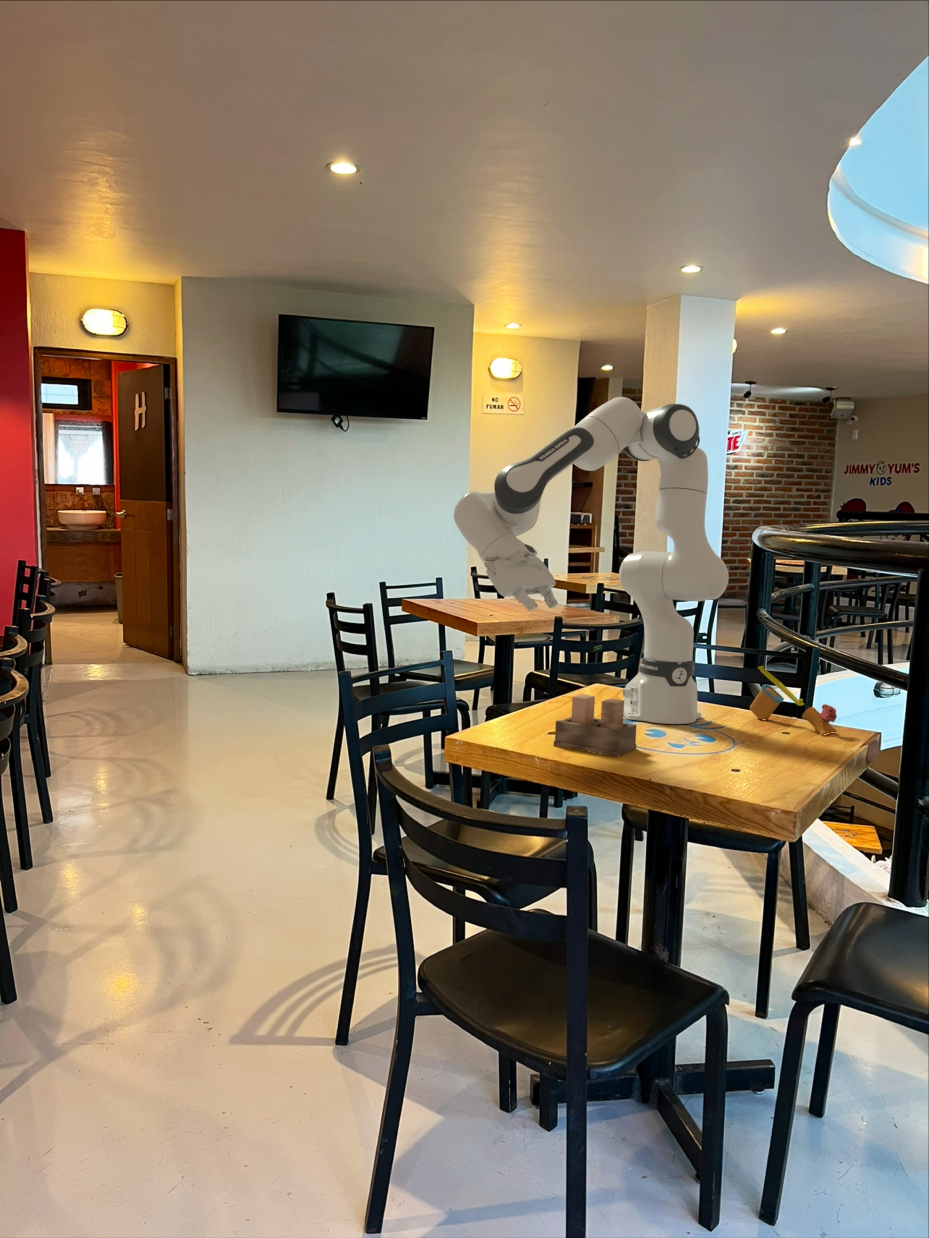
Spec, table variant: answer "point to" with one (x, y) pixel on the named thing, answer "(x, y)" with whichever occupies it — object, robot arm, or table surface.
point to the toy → (771, 699)
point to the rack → (599, 732)
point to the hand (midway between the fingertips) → (544, 607)
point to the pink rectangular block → (583, 709)
